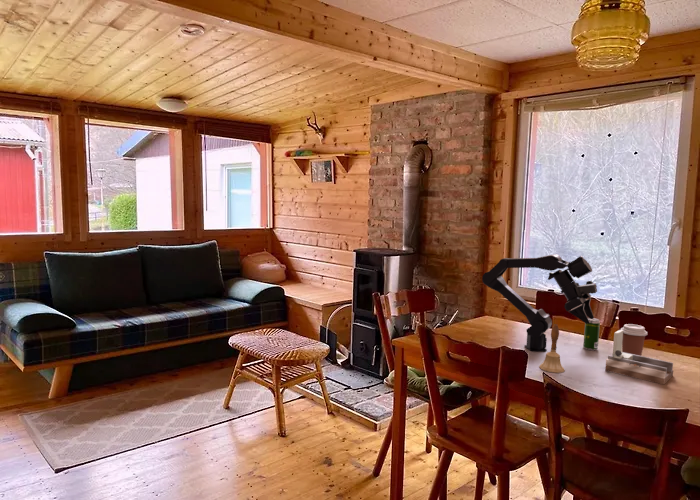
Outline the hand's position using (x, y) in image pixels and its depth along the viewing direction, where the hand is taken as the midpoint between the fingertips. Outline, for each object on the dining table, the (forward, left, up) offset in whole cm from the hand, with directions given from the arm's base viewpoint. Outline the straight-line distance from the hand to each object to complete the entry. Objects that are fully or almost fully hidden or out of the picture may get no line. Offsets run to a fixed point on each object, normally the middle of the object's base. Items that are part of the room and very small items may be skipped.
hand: (590, 321), depth 192 cm
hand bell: (-20, -11, -15) cm, 27 cm away
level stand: (+9, -16, -14) cm, 23 cm away
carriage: (+4, -13, -12) cm, 18 cm away
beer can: (+8, +12, -15) cm, 21 cm away
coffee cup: (+18, +1, -15) cm, 24 cm away
